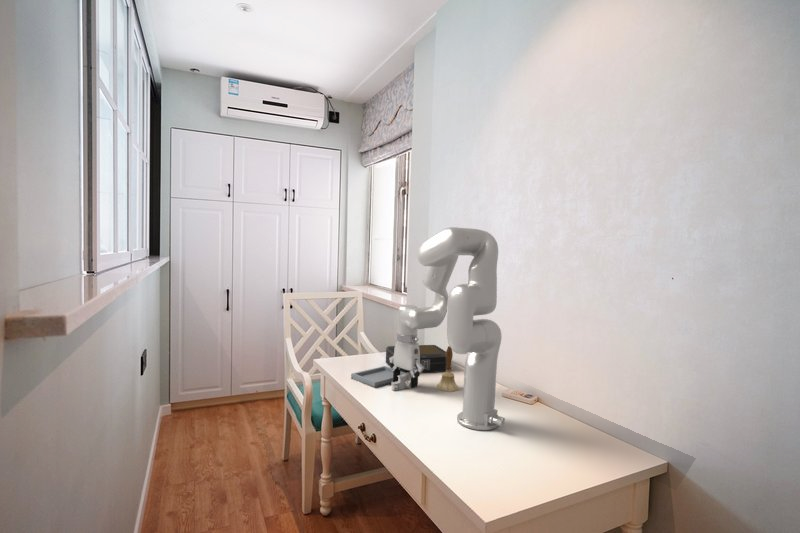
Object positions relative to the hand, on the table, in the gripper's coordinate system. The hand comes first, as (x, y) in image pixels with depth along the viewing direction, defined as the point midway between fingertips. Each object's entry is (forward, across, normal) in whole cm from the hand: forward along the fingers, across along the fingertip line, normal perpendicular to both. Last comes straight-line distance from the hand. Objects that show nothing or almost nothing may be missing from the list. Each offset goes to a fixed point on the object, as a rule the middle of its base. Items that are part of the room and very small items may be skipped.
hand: (404, 384), depth 157 cm
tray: (+2, +14, 0) cm, 14 cm away
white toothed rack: (+2, 0, 0) cm, 2 cm away
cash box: (+2, +16, -25) cm, 30 cm away
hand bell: (+2, -10, -13) cm, 17 cm away
